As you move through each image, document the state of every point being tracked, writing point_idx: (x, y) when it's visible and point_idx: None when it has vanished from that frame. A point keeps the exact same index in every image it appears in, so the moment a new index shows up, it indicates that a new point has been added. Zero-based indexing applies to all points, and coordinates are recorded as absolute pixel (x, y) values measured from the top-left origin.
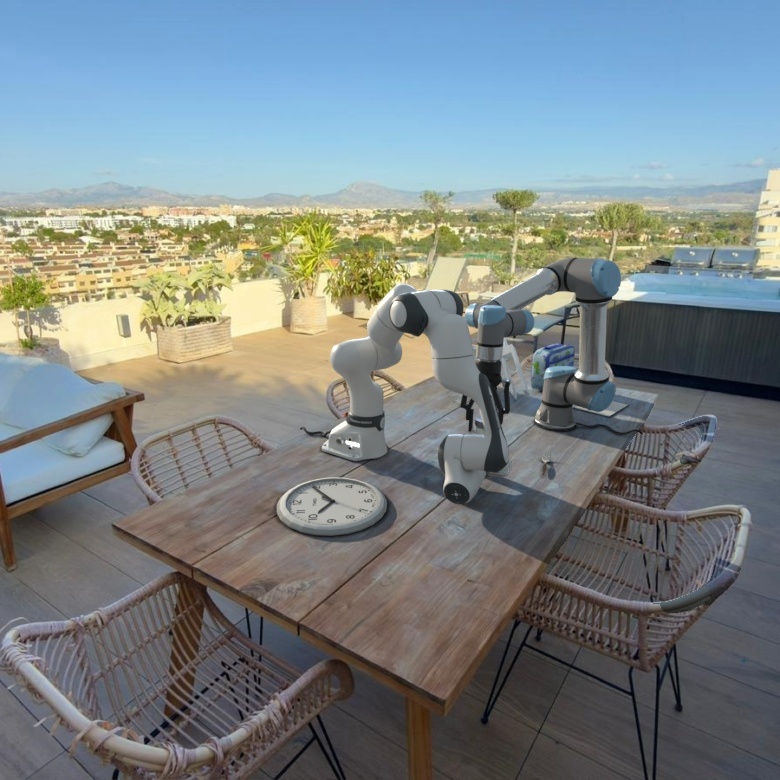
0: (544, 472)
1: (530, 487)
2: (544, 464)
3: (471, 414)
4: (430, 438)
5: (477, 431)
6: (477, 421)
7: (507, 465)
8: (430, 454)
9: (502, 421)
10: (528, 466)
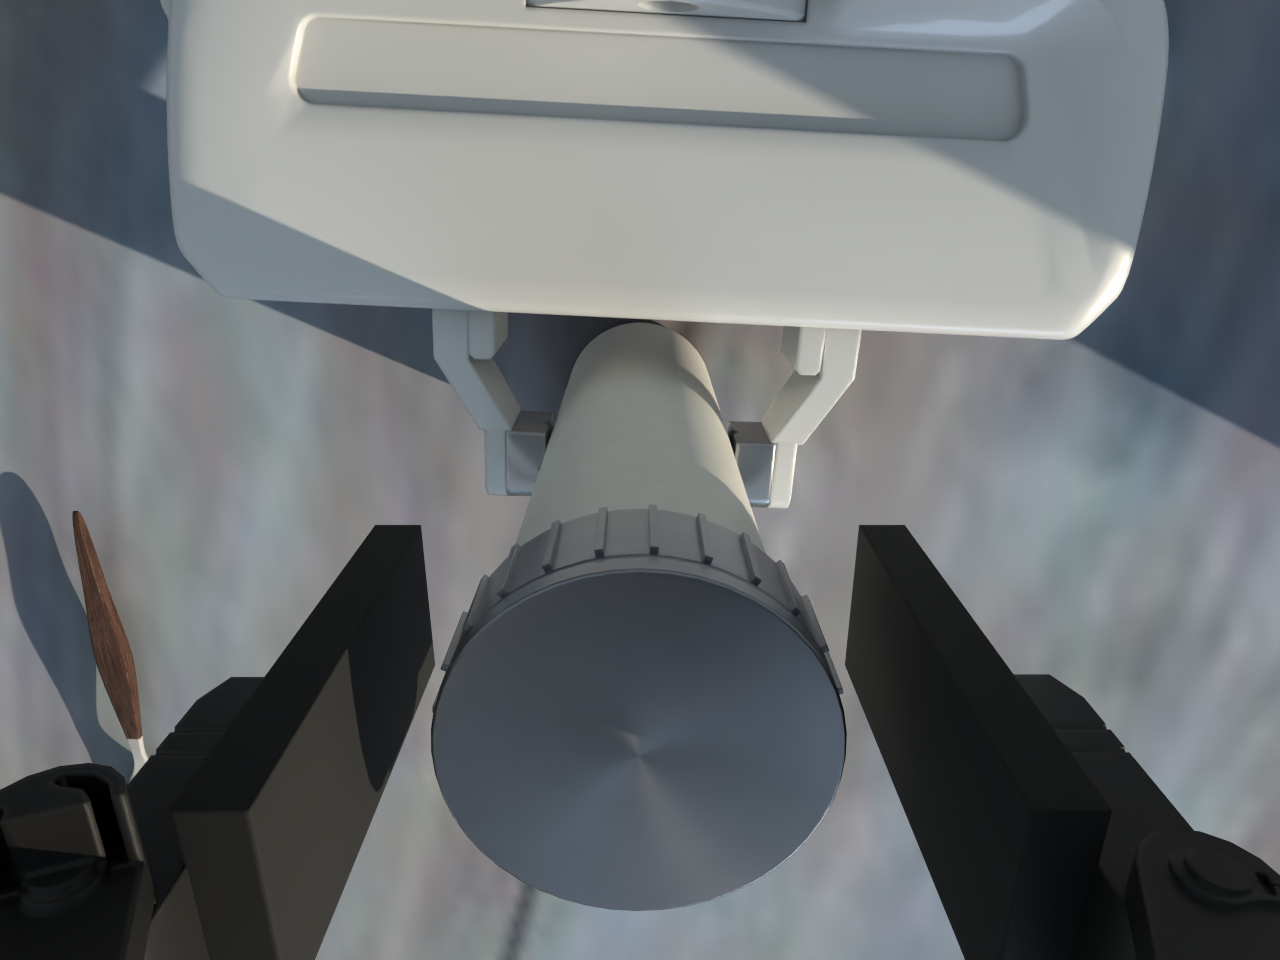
0: (82, 566)
1: (123, 253)
2: (128, 708)
3: (1005, 746)
4: None
5: (735, 519)
6: (780, 608)
7: (169, 25)
8: (1153, 591)
9: (174, 735)
10: (264, 660)
